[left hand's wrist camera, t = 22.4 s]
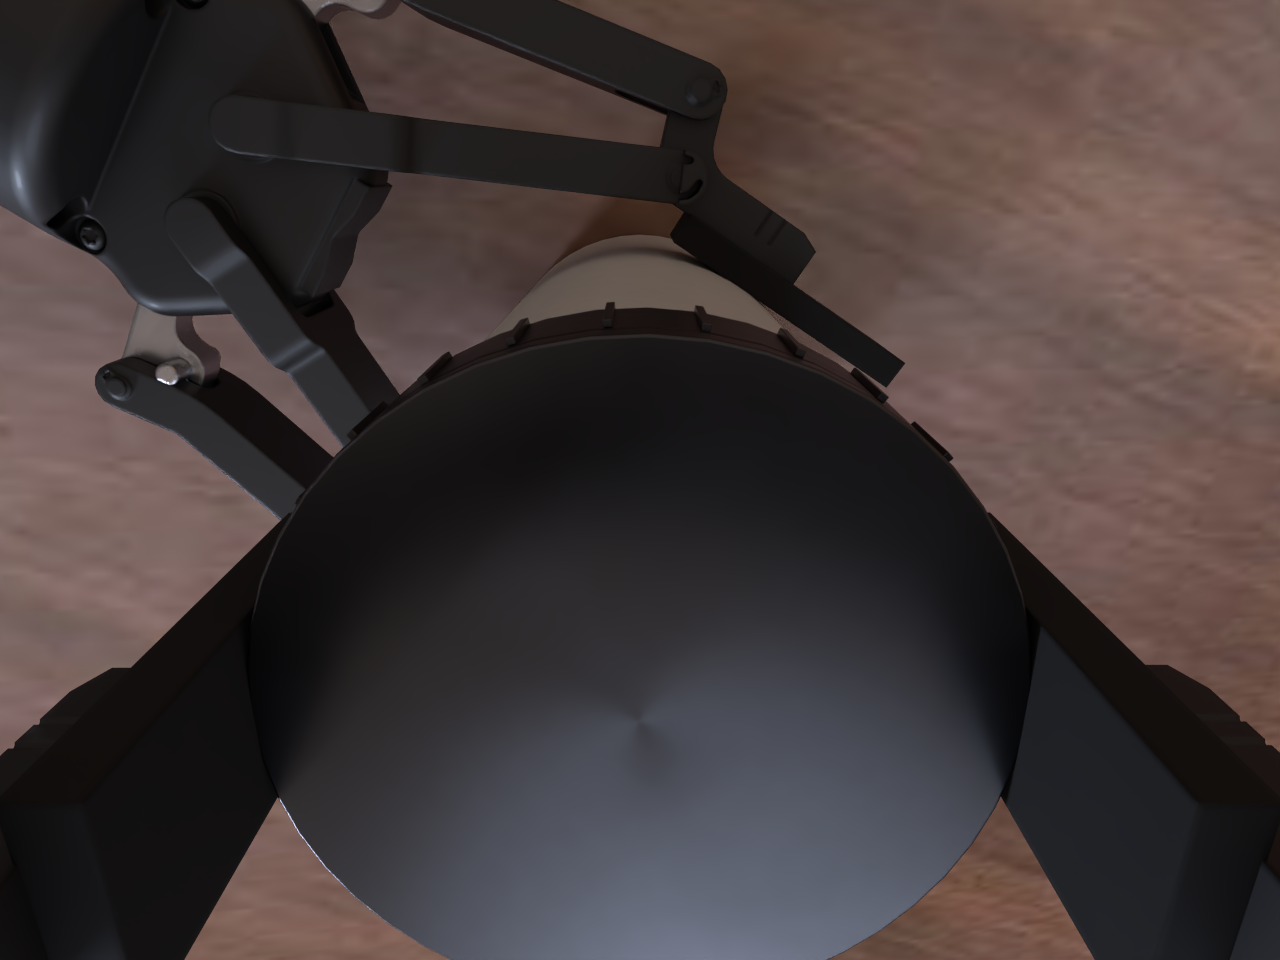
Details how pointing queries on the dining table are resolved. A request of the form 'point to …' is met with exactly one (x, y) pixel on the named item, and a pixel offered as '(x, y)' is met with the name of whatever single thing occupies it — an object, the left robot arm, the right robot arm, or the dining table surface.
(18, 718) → the dining table surface
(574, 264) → the jar
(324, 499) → the lid
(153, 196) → the right robot arm
